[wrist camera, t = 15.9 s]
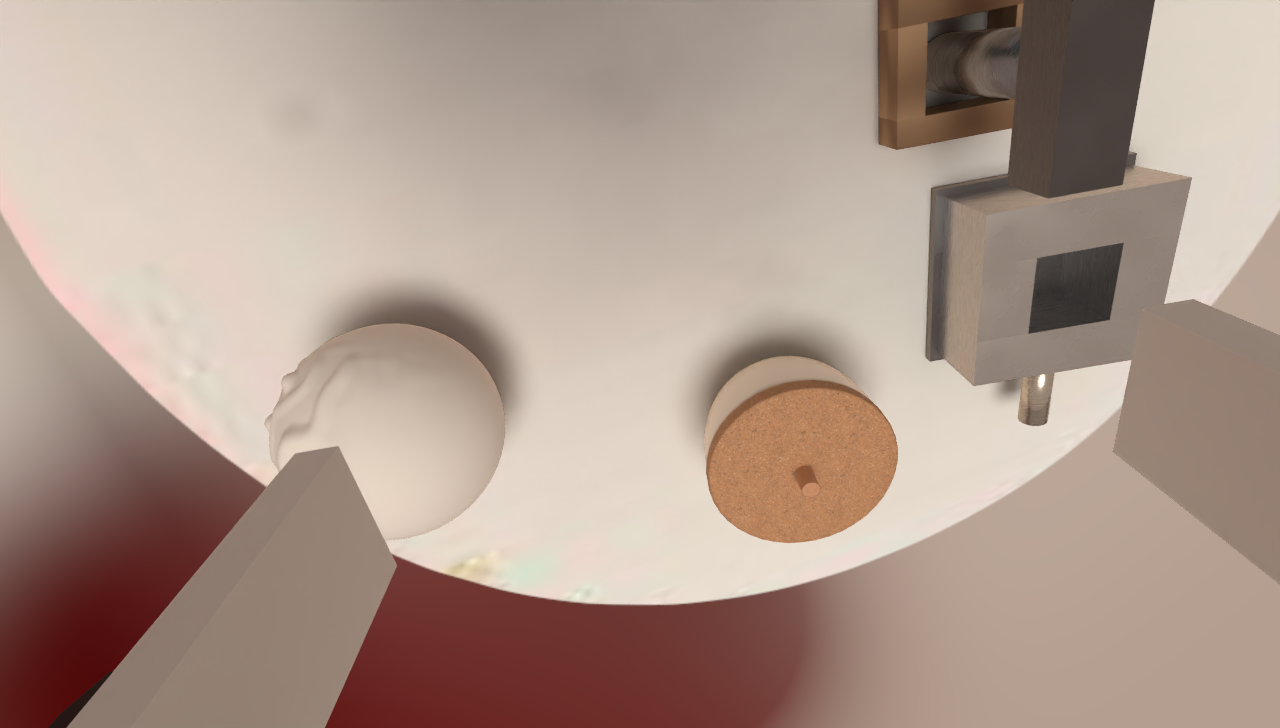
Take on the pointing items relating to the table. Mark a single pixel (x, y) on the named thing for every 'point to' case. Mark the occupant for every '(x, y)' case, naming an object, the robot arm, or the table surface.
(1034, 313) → the square block with stud
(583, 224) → the table surface
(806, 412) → the lidded jar
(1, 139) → the table surface
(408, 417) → the decorative ball
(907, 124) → the key stand
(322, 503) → the robot arm
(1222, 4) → the table surface
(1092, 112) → the bar
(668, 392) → the table surface
